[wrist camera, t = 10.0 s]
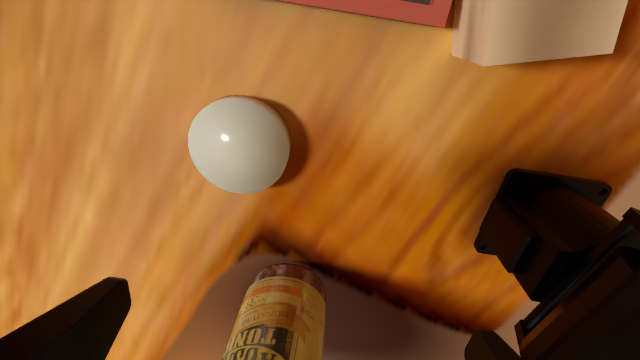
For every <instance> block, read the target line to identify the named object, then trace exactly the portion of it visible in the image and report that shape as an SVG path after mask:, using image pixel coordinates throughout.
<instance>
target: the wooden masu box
mask: <svg viewBox="0 0 640 360" xmlns="http://www.w3.org/2000/svg"><path fill="white" fill-rule="evenodd" d="M627 3H628V0H455V8H454V21H453V34H452V48H451V55H452V56H455V57H458V58H461V59H464V60H467V61H470V62H473V63H476V64H479V65H481V66H493V65H503V64H513V63H523V62H533V61H543V60H552V59H562V58H572V57H582V56H592V55H602V54H612V53H613V50H614V47H615V44H616V40H617V37H618V33H619V30H620V27H621V23H622V20H623V16H624V13H625V9H626V6H627Z"/></svg>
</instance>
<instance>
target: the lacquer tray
mask: <svg viewBox="0 0 640 360" xmlns="http://www.w3.org/2000/svg"><path fill="white" fill-rule="evenodd" d="M276 1H282V2H288V3H294V4H300V5H306V6H312V7H318V8H324V9H330V10H336V11H342V12H348V13H354V14H360V15H366V16H372V17H378V18H384V19H390V20H397V21H403V22H409V23H415V24H421V25H427V26H433V27H442V28H444V27H445V24H446V21H447V17H448V14H449V10H450V7H451V4H452V0H276Z"/></svg>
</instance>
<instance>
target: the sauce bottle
mask: <svg viewBox="0 0 640 360" xmlns="http://www.w3.org/2000/svg"><path fill="white" fill-rule="evenodd" d="M325 299H326V296H325V291H324V286H323V283H322V281H321V280H320V278H319V277H318V276H317V275H316V274H315V273H314V272H312V271H311V270H310V269H308V268H305V267H302V266H299V265H296V264H287V263H286V264H285V263H283V264H275V265H273V266H268V267H266V268H265V269H264V270H262V271H261V272H260V273H259V274H258V275H257V276H256V278H255V279H254V281H253V282H252V283H251V285H250V287H249V289H248V291H247V293H246V295H245V298H244V301H243V303H242V306H241V309H240V311H239V314H238V317H237V320H236V322H235V326H234V328H233V331H232V334H231V337H230V339H229V342H228V345H227V348H226V351H225V353H224V356H223V358H222V360H322V355H323V341H324V330H325V316H326V315H325V314H326V306H325Z"/></svg>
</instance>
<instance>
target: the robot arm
mask: <svg viewBox="0 0 640 360" xmlns="http://www.w3.org/2000/svg"><path fill="white" fill-rule="evenodd" d="M516 175H518V177H517V178H516V179H513V177H514V176H516ZM601 189H602V190H601ZM600 190H601V191H600ZM599 191H600V192H599ZM611 191H612V188H611V186H609V185H608V184H606V183H604V182H600V181H594V180H587V179H581V178H574V177H568V176H562V175H555V174H549V173H542V172H536V171H529V170H523V169H512V170H510V171H509V172H508V173H507V174H506V176H505V178H504V180H503V182H502V185H501V187H500V189H499V191H498V193H497V195H496V197H495V199H494V200H493V201H492V203H491V205H490V207H489V209H488V212H487V214H486V216H485V218H484V220H483V222H482V224H481V227H480V231H479V234H478V236H477V238H476V240H475V242H474V247H475V249H476V251H477V252H479V253H483V254H490V255H496V256H497V257H498V259H499V260H500V262H501V263H502V265H503V266H504V268H505V269H506V271H507V272H508V273H512V274H513V275H514V276H515V278H516V279H517V281H518V282H519V283H520V285H521V286H522V288H523V289H524V291H525V292H526V294H527V295H528V297H529V298H530V300H532V301H537V302H540V303H539V304H538V306H536V307H535V308H534V309H533V310H532V312H531V313H530V314H528V315H527V317H526V318H525V319H524V320H520V321H519V322H518V323H517V324H516V325H515V326H514V327H515V331H516V336H517V341H518V345H519V349H520V356H521V357H520V356H519V355H518V354H517V353H516V352H515V351H514V350H513V349H512V348H511V347H510V346H508V344H507V343H506V342H505V341H504V340H503V339H502V338H501V337H500V336H499V335H498V334H496V333H495V332H494V331H491V330H485V329H477V330H475V332H474V333H473V335H472V337H471V339H470V340H469V342H468V344H467V346H466V348H465V353H464V355H465V360H640V210H637V209H635V208H632V207H631V208H630V209H629V210H628V211H627V212H626V213H625V214H624V215H623V216H622V217H623V220H621V221H619V220H618V219H616V218H615V217H613V216H612V215H611V214H609V213H608V212H607V211H605V210H604V209H602V208H601V207H602V206H603V204H604V203H605V201H606V199H607V198H608V196H609V195H610V193H611ZM481 245H484V246H482V247H480V246H481ZM130 307H131V297H130V292H129V286H128V282H127V280H126V279H124V278H117V277H108V278H105V279H103V280H102V281H100V282H98V283H96V284H95V285H93V286H91V287H89V288H88V289H86V290H84V291H82V292H81V293H79V294H77V295H75V296H74V297H72V298H70V299H68V300H67V301H65V302H63V303H61V304H60V305H58V306H56V307H54V308H53V309H51V310H49V311H47V312H46V313H44V314H42V315H40V316H39V317H37V318H35V319H33V320H32V321H30V322H28V323H26V324H25V325H23V326H21V327H19V328H18V329H16V330H14V331H12V332H11V333H9V334H7V335H5V336H4V337H2V338H0V360H105V359H106V357H107V355H108V353H109V351H110V348H111V346H112V344H113V342H114V340H115V338H116V336H117V334H118V332H119V330H120V328H121V326H122V324H123V322H124V320H125V318H126V316H127V314H128V312H129V310H130Z"/></svg>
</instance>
